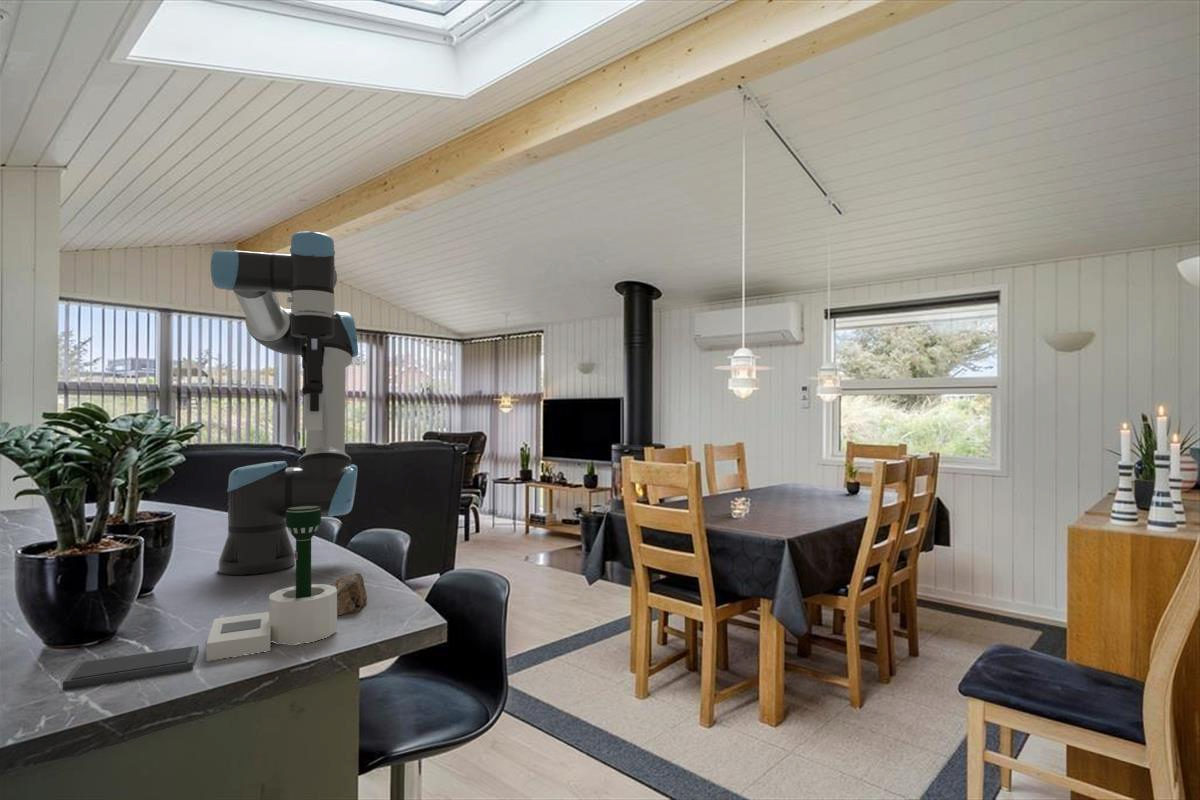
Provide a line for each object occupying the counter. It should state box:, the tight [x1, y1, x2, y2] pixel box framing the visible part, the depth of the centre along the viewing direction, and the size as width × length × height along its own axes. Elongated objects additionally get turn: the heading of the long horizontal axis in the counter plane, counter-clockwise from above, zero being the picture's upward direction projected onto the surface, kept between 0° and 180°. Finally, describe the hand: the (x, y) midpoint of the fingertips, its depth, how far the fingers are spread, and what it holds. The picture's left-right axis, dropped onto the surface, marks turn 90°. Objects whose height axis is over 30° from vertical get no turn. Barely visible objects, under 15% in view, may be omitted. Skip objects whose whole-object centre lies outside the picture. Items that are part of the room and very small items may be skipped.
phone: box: [62, 644, 200, 691], centre depth 88 cm, size 7×14×1 cm, turn 116°
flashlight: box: [286, 505, 322, 598], centre depth 102 cm, size 5×5×20 cm
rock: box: [330, 572, 368, 616], centre depth 117 cm, size 15×10×6 cm
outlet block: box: [206, 583, 338, 662], centre depth 100 cm, size 12×17×6 cm
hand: (312, 429), depth 121 cm, fingers open, 13 cm apart
